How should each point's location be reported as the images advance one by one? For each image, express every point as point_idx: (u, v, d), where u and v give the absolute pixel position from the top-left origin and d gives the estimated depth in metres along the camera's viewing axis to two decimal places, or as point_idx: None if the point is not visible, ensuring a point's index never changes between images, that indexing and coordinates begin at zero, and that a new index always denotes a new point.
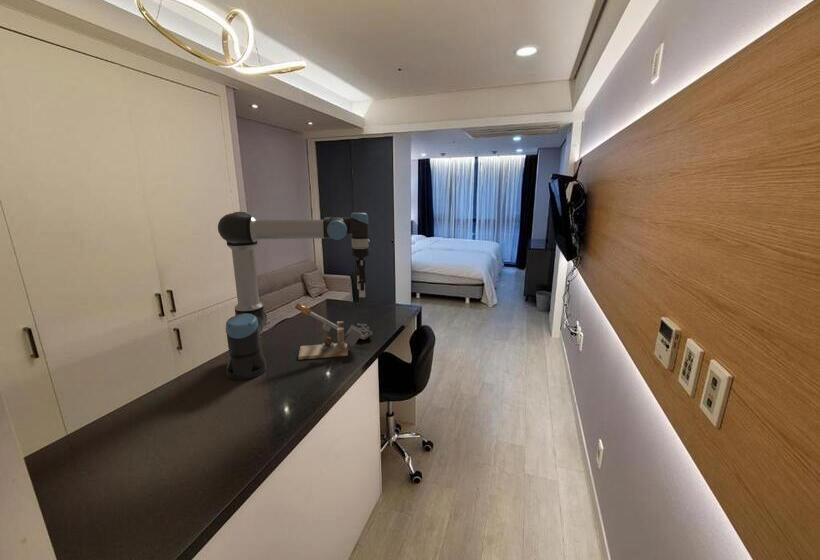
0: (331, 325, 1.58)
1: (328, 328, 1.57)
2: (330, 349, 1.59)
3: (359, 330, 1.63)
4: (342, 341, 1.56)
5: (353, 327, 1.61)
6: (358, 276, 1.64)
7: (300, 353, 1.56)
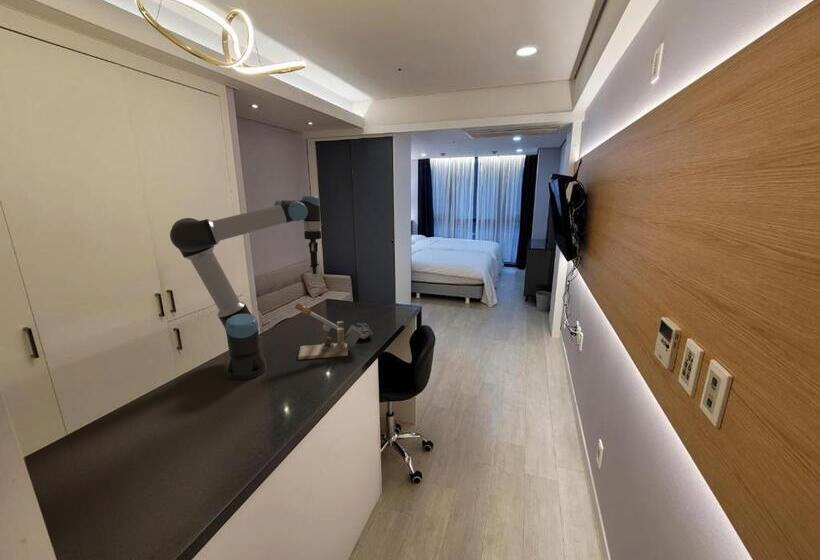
0: (331, 325, 1.58)
1: (328, 328, 1.57)
2: (330, 349, 1.59)
3: (359, 330, 1.63)
4: (342, 341, 1.56)
5: (353, 327, 1.61)
6: None
7: (300, 353, 1.56)
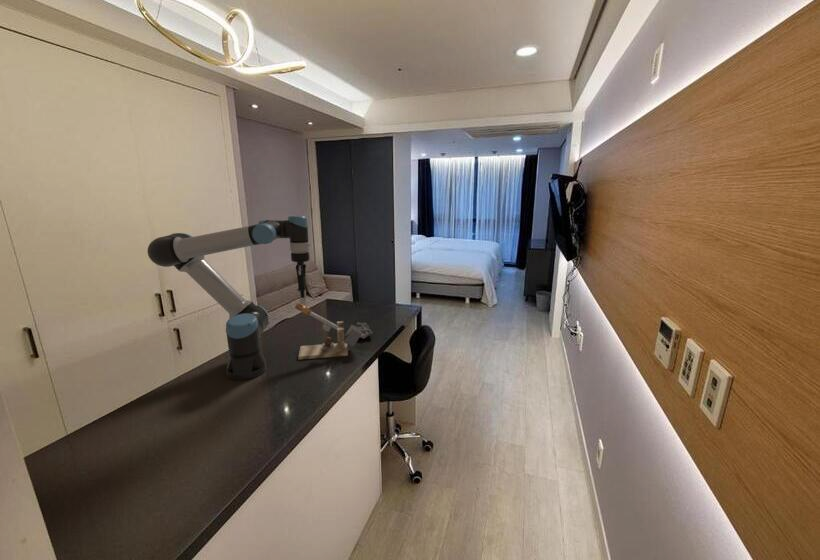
0: (331, 325, 1.58)
1: (328, 328, 1.57)
2: (330, 349, 1.59)
3: (359, 330, 1.63)
4: (342, 341, 1.56)
5: (353, 327, 1.61)
6: None
7: (300, 353, 1.56)
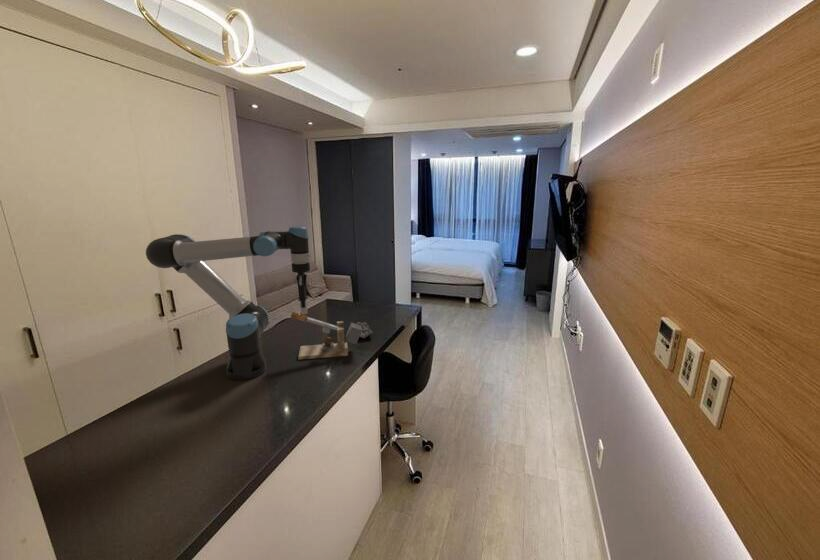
0: (330, 327, 1.58)
1: (328, 330, 1.57)
2: (330, 349, 1.59)
3: (359, 326, 1.63)
4: (342, 341, 1.56)
5: (352, 325, 1.61)
6: None
7: (300, 353, 1.56)
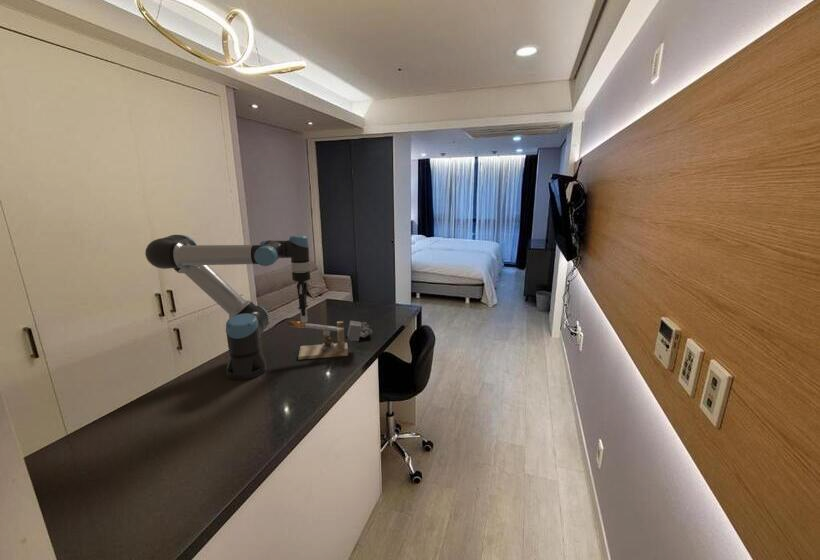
0: (330, 329, 1.58)
1: (328, 333, 1.58)
2: (330, 349, 1.59)
3: (359, 323, 1.62)
4: (342, 341, 1.56)
5: (351, 323, 1.61)
6: None
7: (300, 353, 1.56)
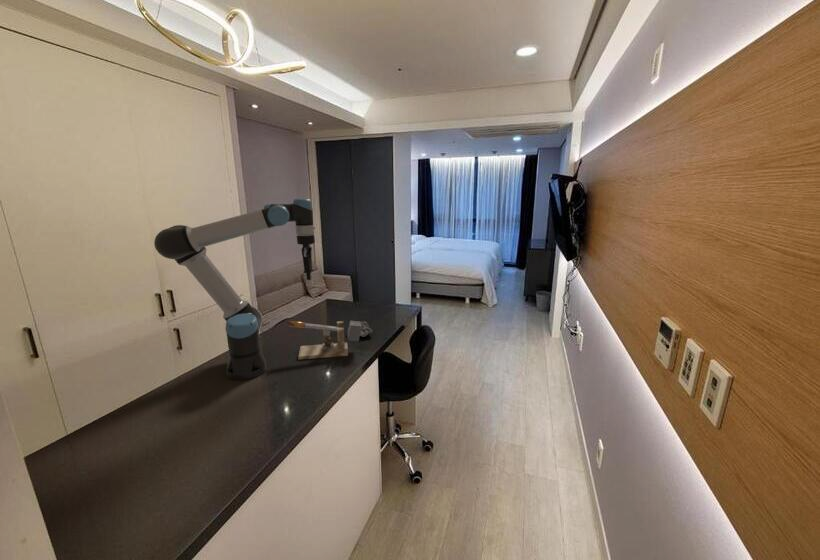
0: (330, 329, 1.58)
1: (328, 333, 1.58)
2: (330, 349, 1.59)
3: (359, 323, 1.62)
4: (342, 341, 1.56)
5: (351, 323, 1.61)
6: None
7: (300, 353, 1.56)
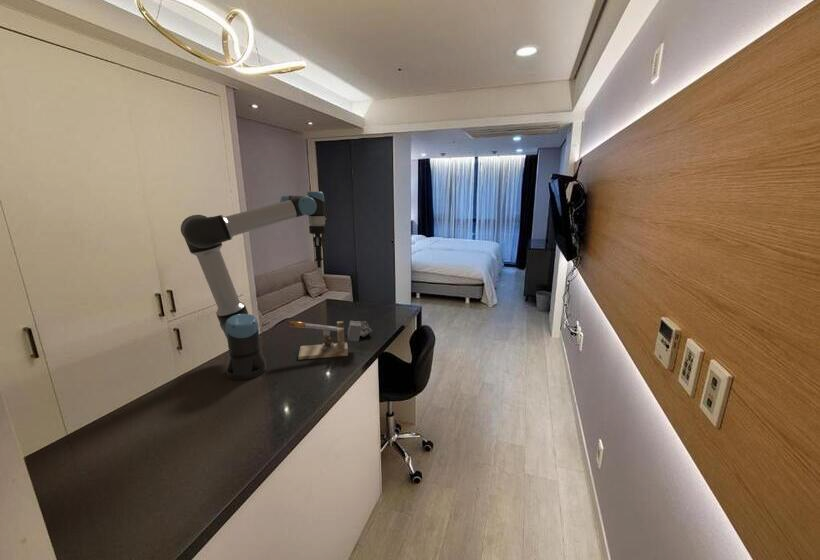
0: (330, 329, 1.58)
1: (328, 333, 1.58)
2: (330, 349, 1.59)
3: (359, 323, 1.62)
4: (342, 341, 1.56)
5: (351, 323, 1.61)
6: None
7: (300, 353, 1.56)
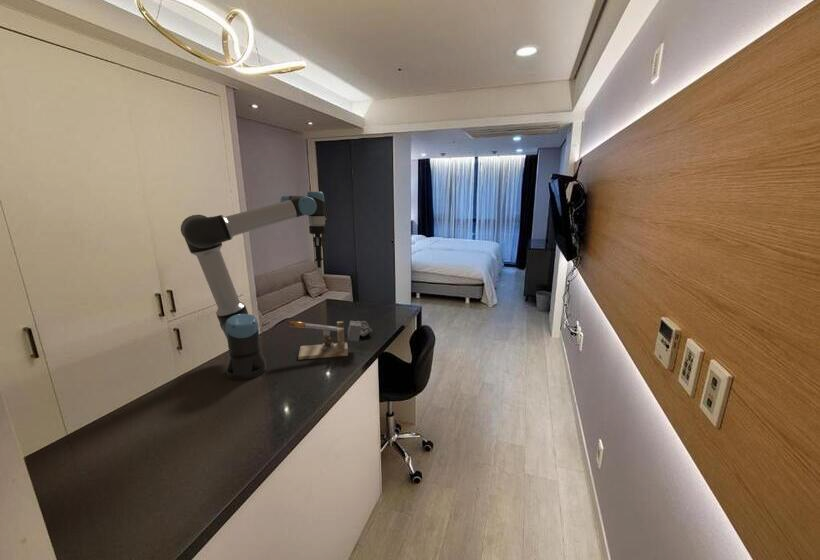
0: (330, 329, 1.58)
1: (328, 333, 1.58)
2: (330, 349, 1.59)
3: (359, 323, 1.62)
4: (342, 341, 1.56)
5: (351, 323, 1.61)
6: None
7: (300, 353, 1.56)
